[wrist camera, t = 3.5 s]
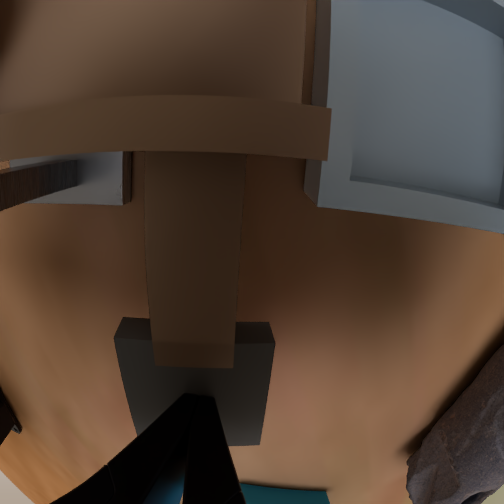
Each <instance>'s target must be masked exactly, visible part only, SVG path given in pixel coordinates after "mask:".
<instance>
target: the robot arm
mask: <svg viewBox="0 0 504 504" xmlns="http://www.w3.org/2000/svg"><path fill="white" fill-rule="evenodd" d="M11 430H13V431H15V432H16V433H19V434H20V433H21V431H22V429H21V427H20V425H19V424H18V422H17V420H16V419H15V417H14V415H13V413H12V412H11V410H10V408H9V406H8V404H7V402H6V401H5V399H4V397H3V395H2V393H1V391H0V445H1V444H2V442H3V441H4V439H5V438H6V437H7V435H8V434H9V432H10V431H11ZM182 494H183V503H182V504H246V501H245V498H244V495H243V493H242V489H241V486H240V483H239V480H238V477H237V473H236V470H235V467H234V464H233V460H232V457H231V454H230V450H229V447H228V444H227V440H226V437H225V433H224V430H223V426H222V422H221V419H220V415H219V411H218V408H217V404H216V400H215V398H214V397H212V396H205V395H201V396H200V397H199V396H198V395H197V394H191V393H184V394H182V395H181V396H180V397H179V398H178V399H177V400H176V401H175V402H174V403H173V404H172V405H171V406H170V407H169V408H168V409H166V410H165V411H164V412H163V413H162V414H161V415H160V416H159V417H158V418H157V419H156V420H155V421H154V422H153V423H151V424H150V425H149V426H148V427H147V428H146V429H145V430H144V431H143V432H142V433H141V434H140V435H138V436H137V437H136V438H135V439H134V440H133V441H132V442H131V443H130V444H128V445H127V446H126V447H125V448H124V449H123V450H122V451H121V452H119V453H118V454H117V455H116V456H115V457H114V458H113V459H112V460H110V461H109V462H108V463H107V465H104V466H103V467H102V468H101V469H100V470H99V471H98V472H96V473H95V474H94V475H93V476H91V477H90V478H89V479H88V480H86V481H85V482H84V483H82V484H81V485H79V486H78V487H76V488H75V489H73V490H72V491H70V492H68V493H67V494H65V495H63V496H62V497H60V498H58V499H57V500H55V501H53V502H52V503H50V504H179V503H180V500H181V497H182Z"/></svg>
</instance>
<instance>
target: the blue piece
mask: <svg viewBox="0 0 504 504" xmlns="http://www.w3.org/2000/svg"><path fill="white" fill-rule="evenodd" d="M240 486H241V489H242V493H243V495H244V498H245V501H246V504H330V502H329V499H328V497H327V494H326V492H325V491H305V490H290V489H279V488H270V487H262V486H255V485H248V484H241V483H240Z"/></svg>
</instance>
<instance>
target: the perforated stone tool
mask: <svg viewBox="0 0 504 504" xmlns="http://www.w3.org/2000/svg"><path fill="white" fill-rule="evenodd" d="M407 465H408V466H409V468H408V473H407V484H406V489H407V491H408V492H409V498H410V499H411V500H412V502H413V504H481V503H482V502H483V501H484V500H485V499H486V498H487V497H488V496H489V495H492V494H493V493H495V492H496V491H497V490H498V489H499V488H500V487H501V486H502V485H503V484H504V344H503V345H502V346H501V347H500V348H499V349H498V350H497V351H496V352H495V353H494V355H493V356H492V357H491V358H490V359H489V361H488V362H487V363H486V364H485V366H484V367H483V368H482V370H481V371H480V373H479V374H478V376H477V377H476V379H475V380H474V381H473V383H472V384H471V385H470V386H468V387H467V388H466V389H465V390H464V391H463V393H462V394H461V395H460V396H459V397H458V399H457V400H456V401H455V402H454V404H453V405H452V406H451V407H450V408H449V409H448V410H447V411H446V412H445V414H444V415H443V416H442V417H441V418H440V419H439V420H438V422H437V423H436V424H435V425H434V427H433V428H432V429H431V432H430V433H429V434H428V435H427V436H426V437H425V439H423V442H422V446H421V447H420V448H419V449H418V450H417V451H416V452H415V453H414V454H413V455H412V456H410V457H409V459H408V460H407Z"/></svg>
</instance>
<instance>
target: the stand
mask: <svg viewBox="0 0 504 504" xmlns="http://www.w3.org/2000/svg"><path fill="white" fill-rule="evenodd" d="M131 155H132V151H119V152H95V153H78V154H64V155H52V156H41V157H32V158H23V159H15V160H10V168H6V169H2V170H0V211H2V210H5V209H8V208H10V207H13V206H16V205H19V204H22V203H54V204H96V205H124V204H127V203H129V202H131Z"/></svg>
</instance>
